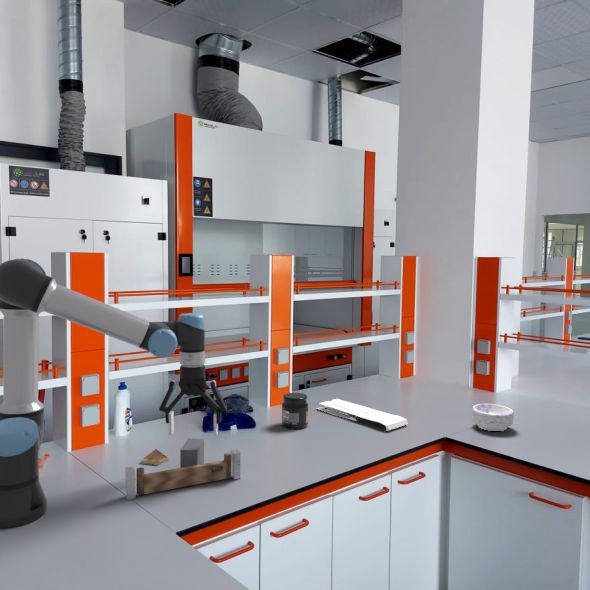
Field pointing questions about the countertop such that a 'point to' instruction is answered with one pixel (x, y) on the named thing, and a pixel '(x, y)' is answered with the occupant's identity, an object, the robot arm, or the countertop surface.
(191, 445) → the rubber block
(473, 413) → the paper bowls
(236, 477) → the grey blocks
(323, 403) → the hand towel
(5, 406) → the robot arm
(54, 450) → the countertop surface
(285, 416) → the supplement container
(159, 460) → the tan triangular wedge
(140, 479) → the gate
